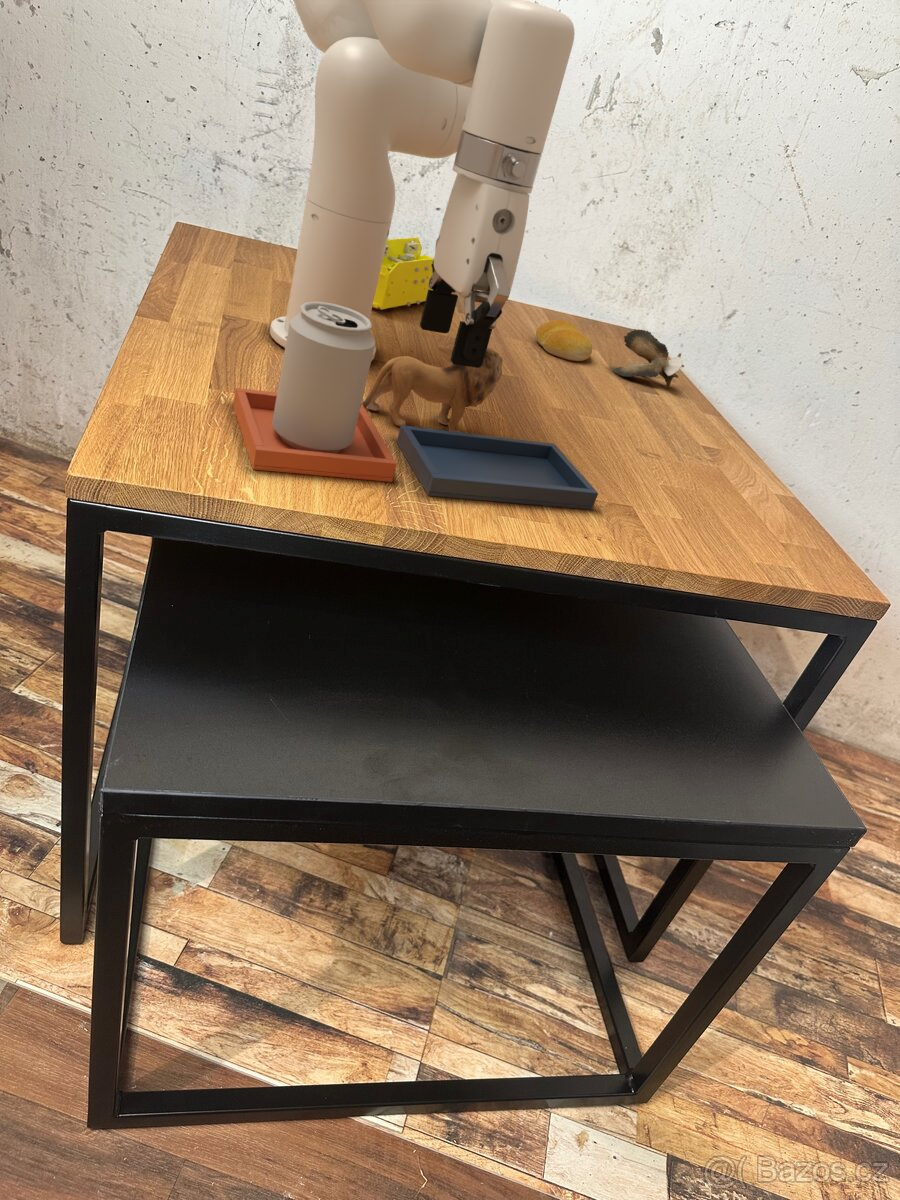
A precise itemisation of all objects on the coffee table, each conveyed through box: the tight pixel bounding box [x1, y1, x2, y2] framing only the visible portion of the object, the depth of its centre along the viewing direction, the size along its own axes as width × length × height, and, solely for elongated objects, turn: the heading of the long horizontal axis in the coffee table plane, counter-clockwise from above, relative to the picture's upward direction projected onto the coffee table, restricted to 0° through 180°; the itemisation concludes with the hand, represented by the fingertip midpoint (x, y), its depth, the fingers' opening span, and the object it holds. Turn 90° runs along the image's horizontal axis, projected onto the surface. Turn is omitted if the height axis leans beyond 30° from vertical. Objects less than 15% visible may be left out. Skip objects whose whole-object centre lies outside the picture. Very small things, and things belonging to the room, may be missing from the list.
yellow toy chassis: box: [372, 237, 434, 311], centre depth 125 cm, size 16×6×8 cm, turn 150°
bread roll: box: [535, 319, 593, 362], centre depth 129 cm, size 8×9×4 cm
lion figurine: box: [361, 347, 504, 432], centre depth 90 cm, size 15×5×9 cm, turn 110°
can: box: [272, 302, 376, 454], centre depth 77 cm, size 8×8×12 cm
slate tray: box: [396, 425, 599, 511], centre depth 85 cm, size 11×18×2 cm, turn 109°
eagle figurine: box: [612, 328, 685, 389], centre depth 128 cm, size 8×7×9 cm
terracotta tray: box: [232, 387, 397, 483], centre depth 80 cm, size 13×13×2 cm
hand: (449, 347), depth 87 cm, fingers open, 9 cm apart
